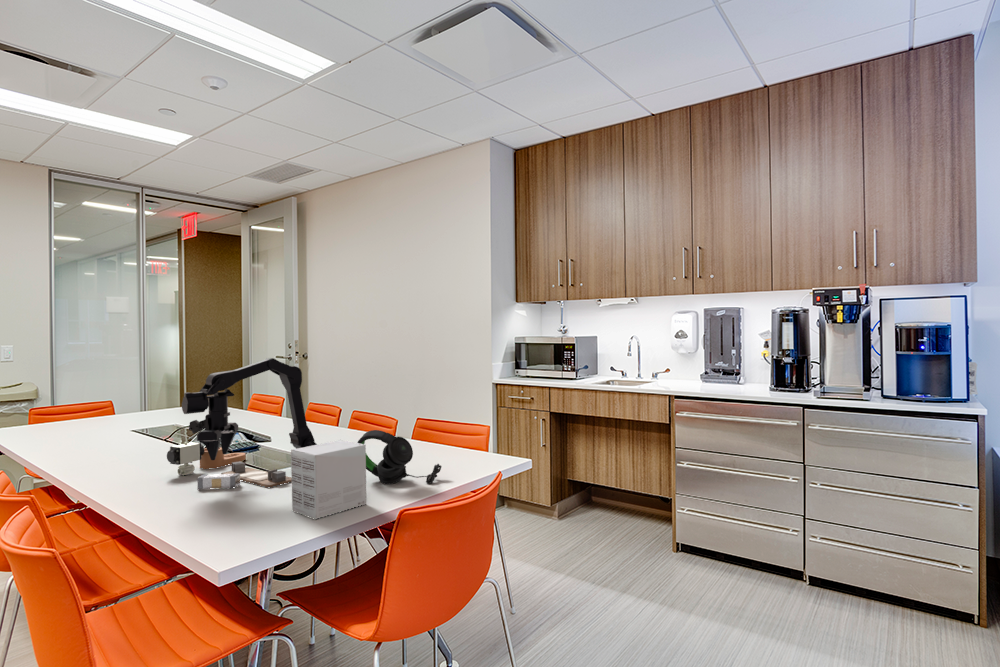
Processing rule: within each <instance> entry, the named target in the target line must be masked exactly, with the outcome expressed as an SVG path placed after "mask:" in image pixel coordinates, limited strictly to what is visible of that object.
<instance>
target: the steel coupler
mask: <svg viewBox="0 0 1000 667" xmlns="http://www.w3.org/2000/svg"><path fill="white" fill-rule="evenodd" d="M196 479H197V490H198V489H210V488H233V487H237V486H238V485H240V486H241V481H240V473H235V474H221V473H218V474H217V473H216V474H215V473H214V474H201V475H199V476H198V477H197V478H196ZM238 487H239V486H238ZM238 487H237V488H238ZM210 490H211V489H210Z"/></svg>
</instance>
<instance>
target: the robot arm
mask: <svg viewBox="0 0 1000 667" xmlns="http://www.w3.org/2000/svg"><path fill="white" fill-rule="evenodd" d="M267 371H270V372H272V373H273V374H275V375H277V376H279V379H280V381H281V382H280V383H281V384H282V385H283V387H284V389H285V391H286V394H287V398H288V399H287V400H288V404H289V409H290V414H291V419H292V425H293V429H292V432H289V434H288V436H289V438H290V444H291V445H292V446H293V447H294V449H298V448H303V447H308V446H313V445H317V443H316V442H315V437H314V436H313V433H312V431H311V429H310V428H309V426H308V424H307V419H306V414H305V413H306V412H305V409H304V402H303V397H302V393H301V386H302V383H303V373H302V369H301V368H299V367H298V366H294V365H289V364H287V363H285V362H281V361H279V360H277V359H276V358H273V357H266V358H265V359H263V360H260V361H257V362H253V363H250V364H248V365H245V366H242V367H239V368H236V369H232V370H225V371H218V372H212V373H210V374H208V375H207V377H206V379H205V383H204V385H203V386H202V387H201V389H200V390H199V391H198V392H184V393H183V394H184V395H183V398H182V401H181V409H182V413H183V414H184V415H188V414H189V415H190V414H197V413H199V414H200V413H204V412H205V411H206V410H208V414H206V415H205V418H204V419H203V420H200V421H199V420H197V419H194V420H192V421H190V422H189V424H188V430H189V431H191V432H192V435H194V434H196V433H197V434H196V442H198V443H201V444H202V445H203V446H205V448H207V450H208V453H209V456H210V458H211V460H215V458H216V456H217V452H218V449H219V448H221V447H222V452H223V454H224V455H225V454H228V451H229V449H230V446H231V444H232V442H233V440H234V438H235V437H236V434H237V433H238V431H239V424H238V423H236V422H229V416H231V411H230V412H229V410H228V409H229V407H228V406H229V404H228V403H229V402H228V397H234V396H235V394H234V393H233V392H232V391H231V390H230V388H231V387H232V386H234V385H235V384H237V383H238V382H240V381H243V380H245V379H248V378H251V377H254V376H256V375H259V374H262V373H265V372H267Z"/></svg>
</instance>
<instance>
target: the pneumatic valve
mask: <svg viewBox="0 0 1000 667" xmlns="http://www.w3.org/2000/svg"><path fill="white" fill-rule="evenodd" d="M204 449H205V447H204V444H202V443H200V442H197V441H196V442H195V441H192V442H188V441H184V442H183V443H182V444H178V445H172V446H169V450H168V451H167V452H166V459H167V461H168V462H169V464H170V465H176V466H178V467H177V474H178V475H179V476H184V475H186V476H189V475H188V474H190V475H193V474H194V471H195V465H194V464H193V462H196V461H200V460H201V457H202V455H203V454H204ZM192 473H193V474H192Z"/></svg>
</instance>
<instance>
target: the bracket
mask: <svg viewBox="0 0 1000 667" xmlns="http://www.w3.org/2000/svg"><path fill="white" fill-rule="evenodd" d="M246 454H247V453H246V452H231V453H226V454H223V452H222V447H221V446H220V447H219V449H218V452H217V456H216V458H215V460H211V458H210V456H209V453H208V450H207V448H206V447H204V454H203V455H202V457H201V460H199V469H200V468H203V469H202V470H210V469H209V468H215V469H218V468H217V467H220V468H222V467H221V466H224V467H226V466H225V465H228V464H232V462H239V461H242V460H245V459H247V458H246ZM245 461H246V460H245ZM228 466H229V465H228Z"/></svg>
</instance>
